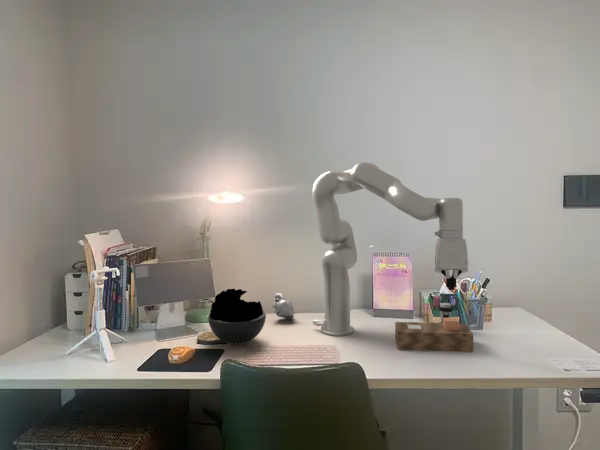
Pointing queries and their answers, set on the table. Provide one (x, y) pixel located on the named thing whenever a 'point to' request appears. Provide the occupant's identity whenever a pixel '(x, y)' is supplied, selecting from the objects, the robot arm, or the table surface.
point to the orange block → (450, 324)
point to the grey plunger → (414, 327)
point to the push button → (445, 310)
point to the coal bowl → (235, 317)
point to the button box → (433, 337)
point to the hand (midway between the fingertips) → (451, 289)
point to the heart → (283, 307)
